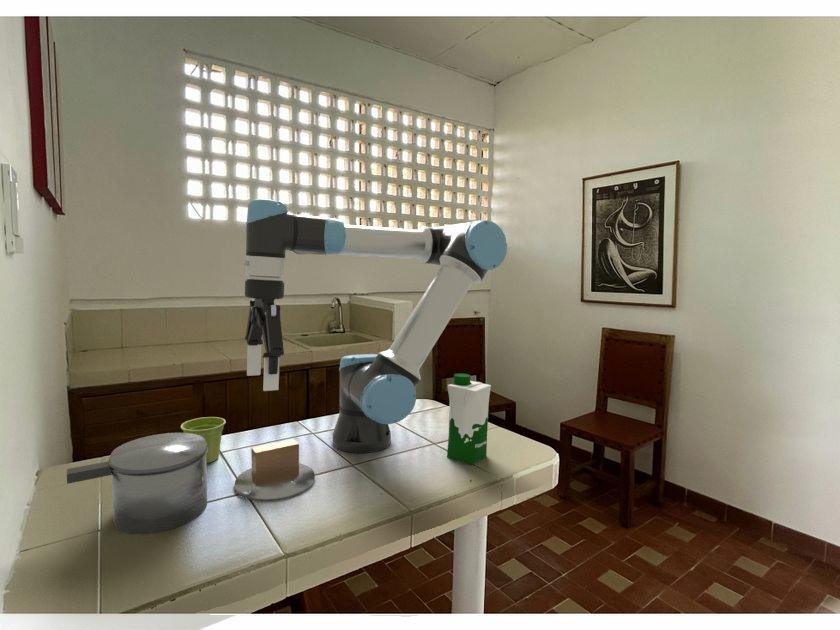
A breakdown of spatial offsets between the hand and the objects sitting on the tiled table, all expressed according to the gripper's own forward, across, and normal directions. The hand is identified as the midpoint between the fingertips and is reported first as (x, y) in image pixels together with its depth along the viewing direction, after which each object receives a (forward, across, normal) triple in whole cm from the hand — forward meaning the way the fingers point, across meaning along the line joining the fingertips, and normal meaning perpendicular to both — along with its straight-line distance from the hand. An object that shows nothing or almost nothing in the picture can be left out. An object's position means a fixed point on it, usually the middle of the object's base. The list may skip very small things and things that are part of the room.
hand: (261, 382), depth 95 cm
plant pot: (+22, -18, -8) cm, 30 cm away
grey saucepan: (+22, +3, -21) cm, 30 cm away
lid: (+22, +1, +3) cm, 22 cm away
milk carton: (+20, +11, +47) cm, 52 cm away
